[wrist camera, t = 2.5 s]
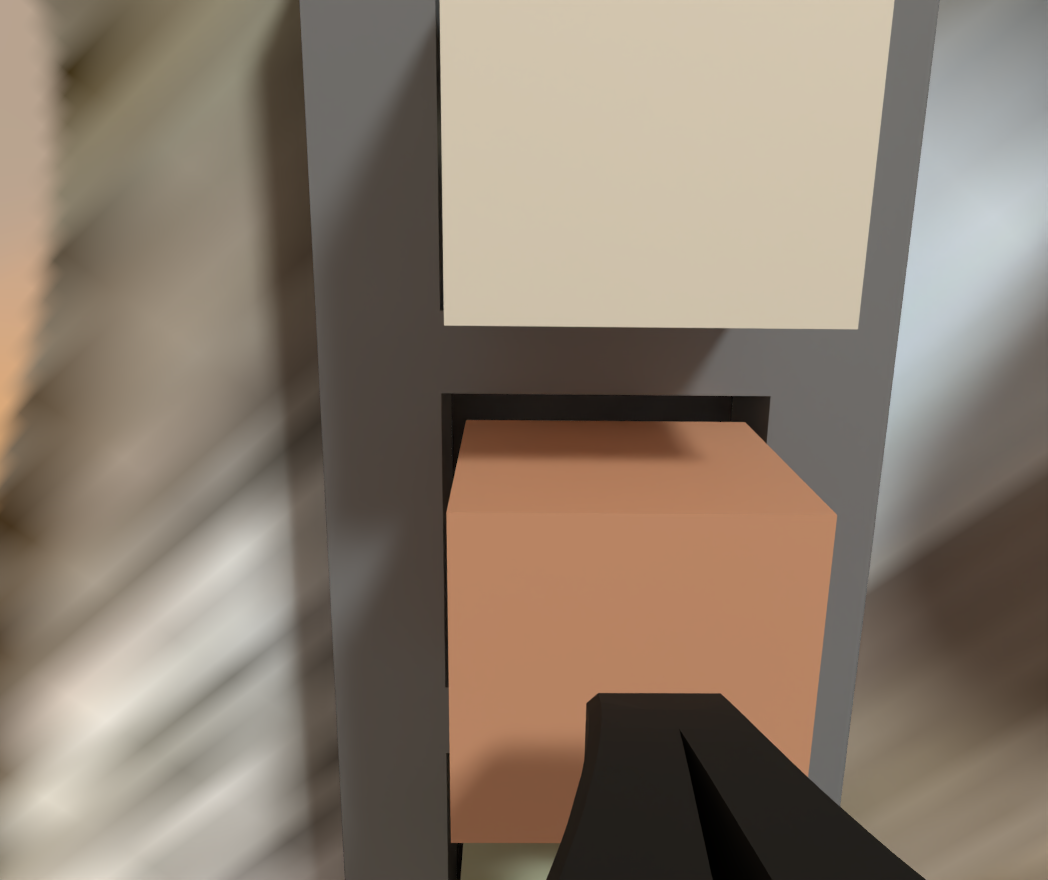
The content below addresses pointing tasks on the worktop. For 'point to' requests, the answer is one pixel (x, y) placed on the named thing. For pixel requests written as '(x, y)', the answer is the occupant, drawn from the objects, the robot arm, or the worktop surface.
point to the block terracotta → (619, 598)
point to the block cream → (659, 161)
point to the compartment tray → (531, 368)
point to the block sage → (507, 861)
